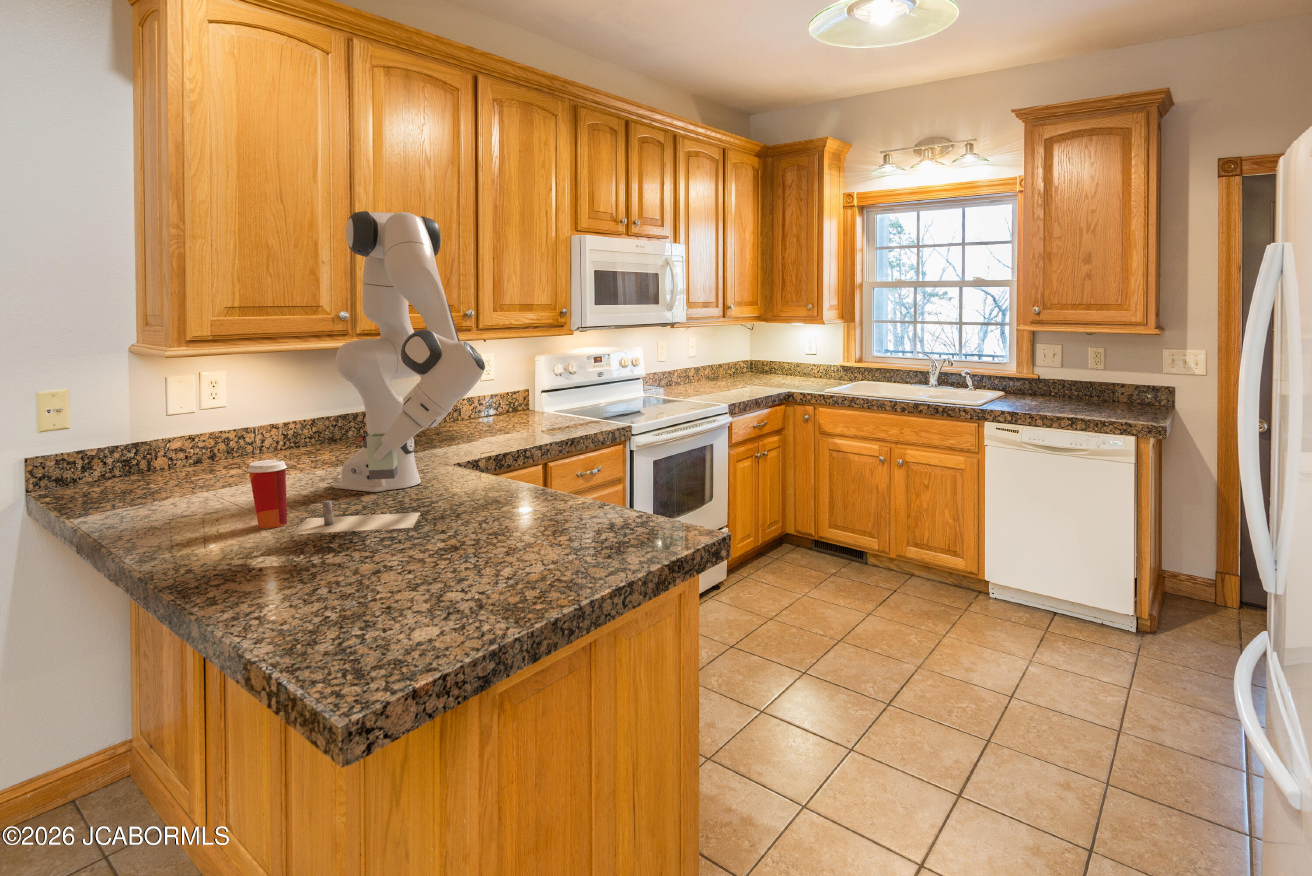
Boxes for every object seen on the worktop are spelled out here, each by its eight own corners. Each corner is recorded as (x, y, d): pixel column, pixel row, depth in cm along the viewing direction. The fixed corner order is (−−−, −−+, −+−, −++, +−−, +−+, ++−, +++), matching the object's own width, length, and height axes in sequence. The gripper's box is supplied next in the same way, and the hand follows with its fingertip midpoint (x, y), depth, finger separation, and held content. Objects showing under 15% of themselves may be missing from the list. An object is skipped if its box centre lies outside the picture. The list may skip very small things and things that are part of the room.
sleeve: (369, 479, 159) (366, 437, 158) (373, 474, 164) (370, 433, 162) (394, 478, 160) (391, 436, 158) (398, 473, 165) (395, 432, 163)
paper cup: (280, 518, 172) (274, 457, 170) (299, 523, 168) (293, 461, 166) (245, 526, 166) (238, 463, 164) (264, 532, 162) (257, 467, 159)
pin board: (291, 541, 155) (288, 510, 154) (307, 525, 167) (304, 496, 166) (413, 534, 159) (411, 504, 158) (420, 518, 171) (418, 490, 170)
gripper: (419, 391, 170) (376, 436, 170) (405, 403, 150) (357, 453, 151) (440, 411, 172) (398, 455, 172) (430, 424, 152) (382, 474, 152)
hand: (379, 454), depth 161 cm, fingers closed on sleeve, 5 cm apart
